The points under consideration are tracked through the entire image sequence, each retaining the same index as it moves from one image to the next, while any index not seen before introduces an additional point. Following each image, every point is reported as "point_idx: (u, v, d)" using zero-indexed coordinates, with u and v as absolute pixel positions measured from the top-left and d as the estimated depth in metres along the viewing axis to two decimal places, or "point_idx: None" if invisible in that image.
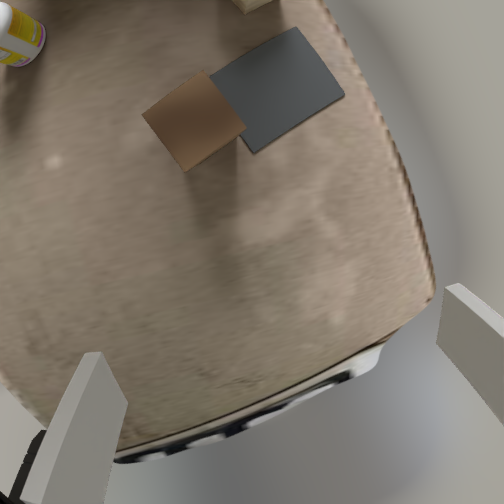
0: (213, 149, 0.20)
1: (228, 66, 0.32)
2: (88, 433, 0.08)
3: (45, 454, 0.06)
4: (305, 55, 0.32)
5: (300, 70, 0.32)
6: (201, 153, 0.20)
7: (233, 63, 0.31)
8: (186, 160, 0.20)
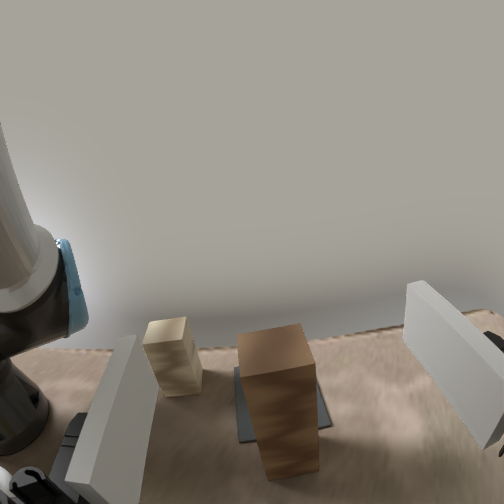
0: (305, 342, 0.23)
1: (239, 418, 0.34)
2: (128, 413, 0.09)
3: (89, 433, 0.07)
4: None
5: None
6: (305, 350, 0.22)
7: (238, 414, 0.34)
8: (304, 359, 0.21)
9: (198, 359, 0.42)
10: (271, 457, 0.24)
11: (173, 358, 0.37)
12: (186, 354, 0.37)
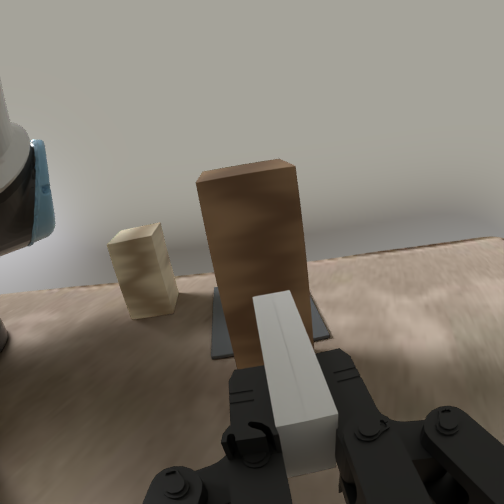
0: (284, 162, 0.18)
1: (214, 333, 0.29)
2: None
3: (279, 378, 0.08)
4: None
5: None
6: (282, 164, 0.17)
7: (214, 329, 0.30)
8: (281, 166, 0.16)
9: (173, 277, 0.38)
10: (246, 351, 0.19)
11: (141, 263, 0.32)
12: (155, 256, 0.32)
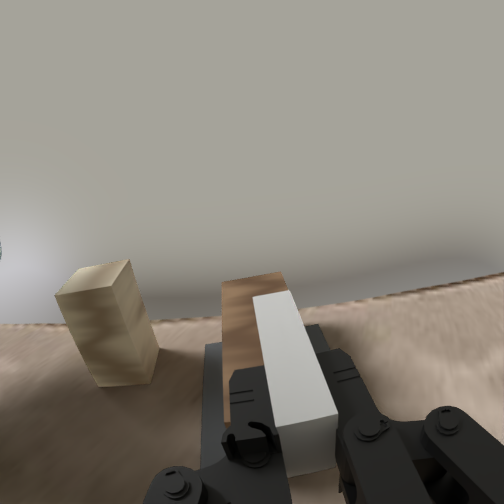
0: None
1: (204, 427, 0.19)
2: None
3: (279, 378, 0.08)
4: None
5: None
6: None
7: (204, 420, 0.19)
8: None
9: (150, 331, 0.27)
10: (237, 359, 0.18)
11: (101, 321, 0.22)
12: (120, 314, 0.22)
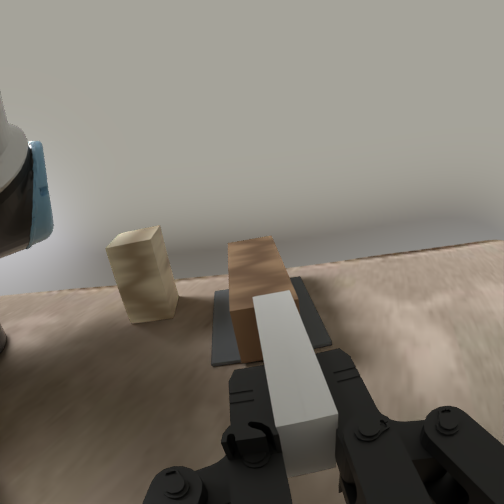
0: None
1: (214, 339, 0.29)
2: None
3: (279, 378, 0.08)
4: None
5: None
6: None
7: (214, 334, 0.29)
8: None
9: (173, 281, 0.37)
10: (238, 282, 0.27)
11: (140, 266, 0.32)
12: (155, 260, 0.31)
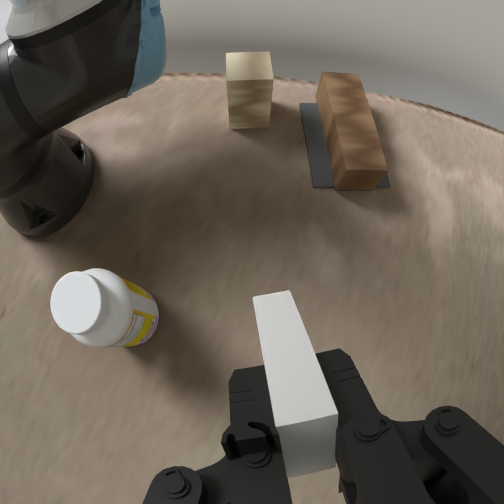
0: None
1: (311, 161, 0.38)
2: None
3: (279, 378, 0.08)
4: None
5: None
6: None
7: (310, 156, 0.38)
8: None
9: None
10: (345, 134, 0.34)
11: (256, 95, 0.34)
12: (271, 92, 0.33)
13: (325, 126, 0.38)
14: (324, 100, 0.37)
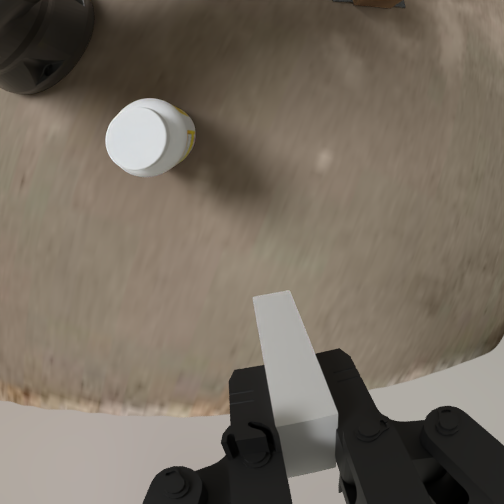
0: None
1: None
2: None
3: (279, 378, 0.08)
4: None
5: None
6: None
7: None
8: None
9: None
10: None
11: None
12: None
13: None
14: None
